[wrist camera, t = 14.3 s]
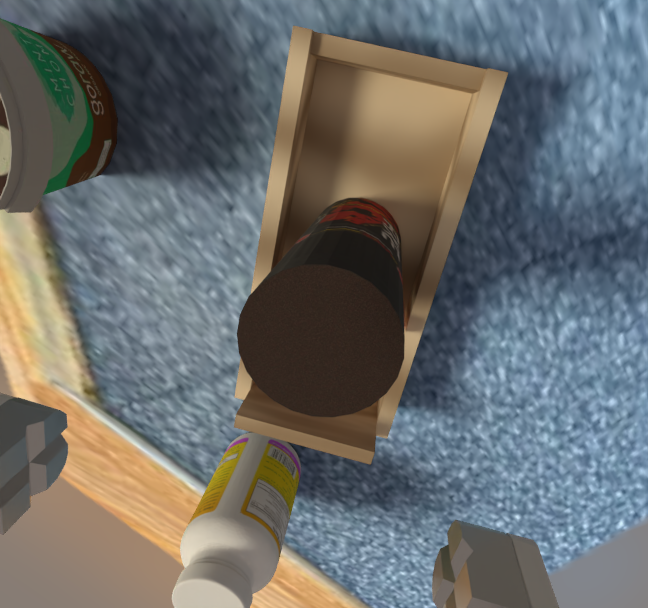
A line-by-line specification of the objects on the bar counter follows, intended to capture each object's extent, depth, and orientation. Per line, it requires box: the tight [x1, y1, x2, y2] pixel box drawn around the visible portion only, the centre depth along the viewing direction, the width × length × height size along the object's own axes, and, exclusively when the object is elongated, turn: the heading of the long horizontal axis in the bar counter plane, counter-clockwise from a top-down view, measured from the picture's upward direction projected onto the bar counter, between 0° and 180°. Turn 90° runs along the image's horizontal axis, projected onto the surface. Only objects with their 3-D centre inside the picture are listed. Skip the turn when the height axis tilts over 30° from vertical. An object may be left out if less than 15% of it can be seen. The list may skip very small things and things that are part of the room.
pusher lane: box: [234, 26, 508, 465], centre depth 28 cm, size 23×11×7 cm, turn 168°
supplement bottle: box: [172, 432, 301, 608], centre depth 33 cm, size 7×7×13 cm
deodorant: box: [237, 198, 405, 417], centre depth 23 cm, size 6×6×15 cm
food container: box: [0, 19, 118, 213], centre depth 25 cm, size 12×6×10 cm, turn 38°
